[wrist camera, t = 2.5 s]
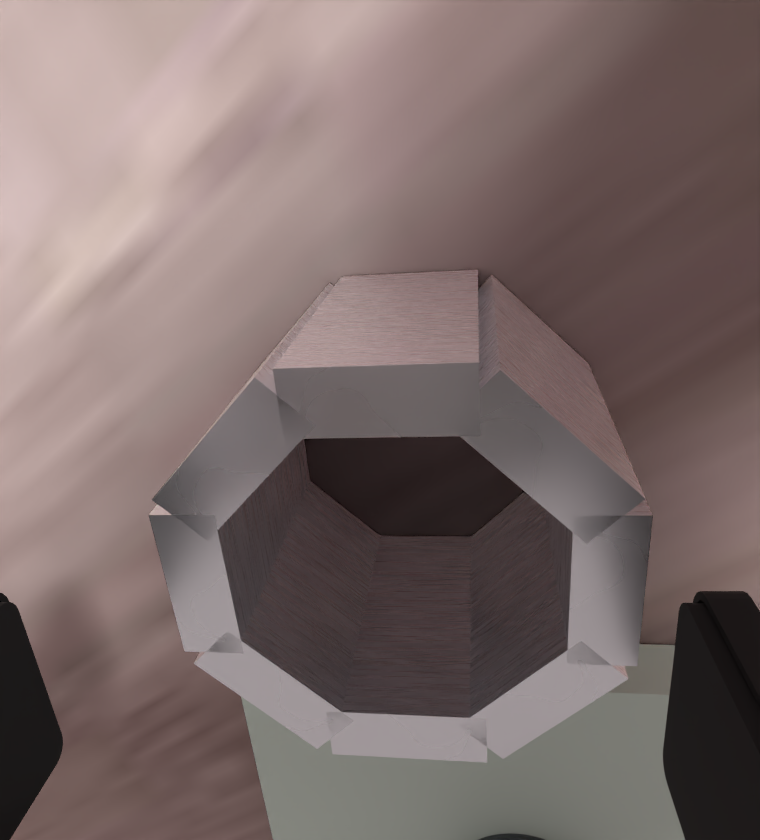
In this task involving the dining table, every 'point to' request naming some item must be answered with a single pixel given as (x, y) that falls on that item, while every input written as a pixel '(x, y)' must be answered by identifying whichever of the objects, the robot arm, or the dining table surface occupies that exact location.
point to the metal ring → (411, 555)
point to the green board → (487, 778)
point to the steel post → (511, 837)
